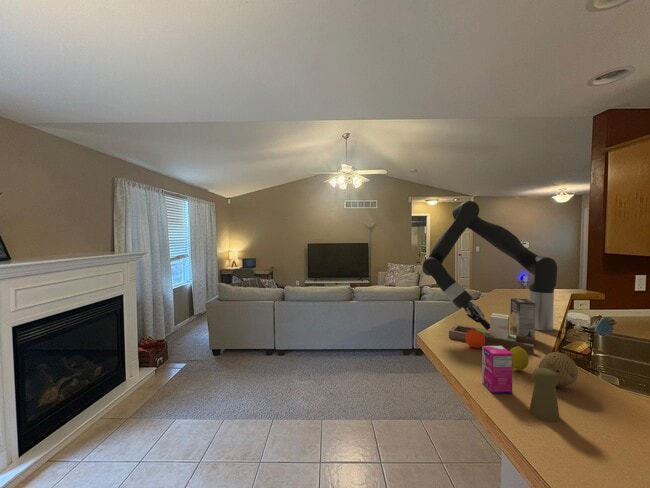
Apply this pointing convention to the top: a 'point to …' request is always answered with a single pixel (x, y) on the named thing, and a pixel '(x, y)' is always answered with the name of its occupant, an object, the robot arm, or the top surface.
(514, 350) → the lemon
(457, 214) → the robot arm
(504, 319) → the cream block
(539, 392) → the olive tapered cylinder
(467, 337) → the clementine
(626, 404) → the top surface
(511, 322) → the coffee box
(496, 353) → the supplement box
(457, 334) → the walnut lane
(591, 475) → the top surface
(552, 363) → the natural sponge
